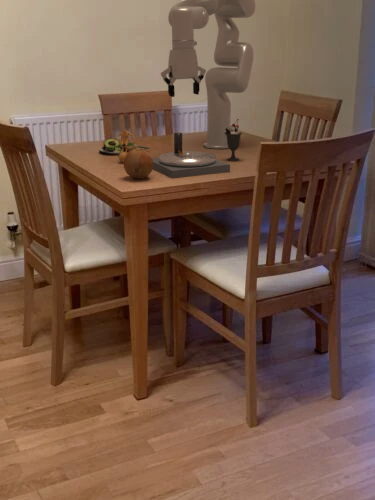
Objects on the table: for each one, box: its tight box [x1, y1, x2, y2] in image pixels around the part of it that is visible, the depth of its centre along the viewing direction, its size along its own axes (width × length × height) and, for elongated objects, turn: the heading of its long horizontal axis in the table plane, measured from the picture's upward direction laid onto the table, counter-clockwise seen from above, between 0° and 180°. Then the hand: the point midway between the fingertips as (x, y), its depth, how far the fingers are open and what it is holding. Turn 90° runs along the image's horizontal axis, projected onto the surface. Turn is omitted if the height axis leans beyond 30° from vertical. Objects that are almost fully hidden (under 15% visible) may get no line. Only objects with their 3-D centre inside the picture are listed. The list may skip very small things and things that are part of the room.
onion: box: [123, 148, 154, 180], centre depth 212 cm, size 10×10×10 cm
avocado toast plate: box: [98, 138, 150, 156], centre depth 256 cm, size 19×18×5 cm
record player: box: [158, 132, 217, 167], centre depth 225 cm, size 20×20×8 cm
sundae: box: [225, 118, 243, 162], centre depth 239 cm, size 7×7×15 cm
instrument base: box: [152, 157, 231, 179], centre depth 227 cm, size 22×22×3 cm
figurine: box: [114, 129, 136, 164], centre depth 235 cm, size 8×6×12 cm
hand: (184, 95), depth 230 cm, fingers open, 9 cm apart
